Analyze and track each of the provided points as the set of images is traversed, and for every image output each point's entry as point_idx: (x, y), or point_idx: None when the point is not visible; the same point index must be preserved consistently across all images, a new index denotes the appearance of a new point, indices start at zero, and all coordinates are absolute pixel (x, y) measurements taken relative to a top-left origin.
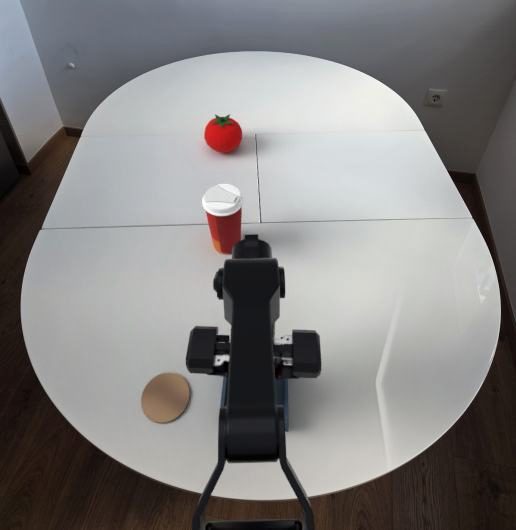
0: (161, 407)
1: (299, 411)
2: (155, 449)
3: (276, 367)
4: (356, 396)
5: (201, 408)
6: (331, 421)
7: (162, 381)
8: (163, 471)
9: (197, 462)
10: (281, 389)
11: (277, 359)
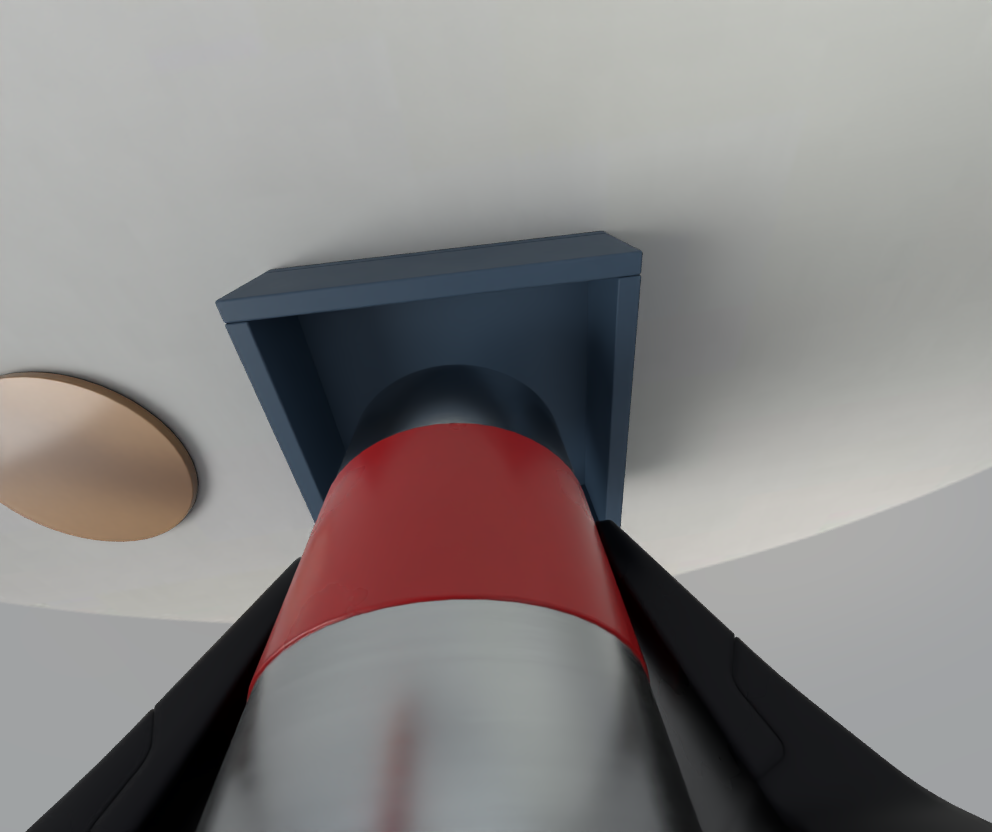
0: (98, 503)
1: (642, 422)
2: (181, 585)
3: (651, 664)
4: (896, 332)
5: (258, 472)
6: (757, 433)
7: (8, 421)
8: None
9: None
10: (575, 367)
11: (689, 695)
